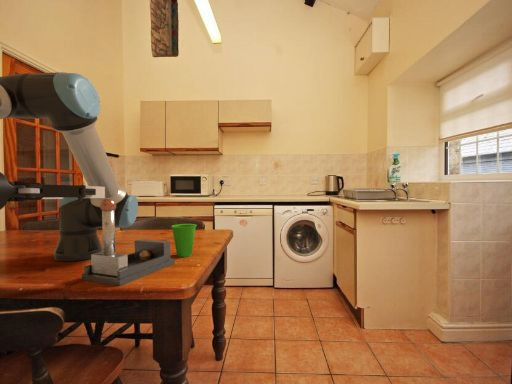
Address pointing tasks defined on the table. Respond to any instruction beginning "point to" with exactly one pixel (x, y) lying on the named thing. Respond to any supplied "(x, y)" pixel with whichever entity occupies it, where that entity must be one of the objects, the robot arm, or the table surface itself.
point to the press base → (136, 263)
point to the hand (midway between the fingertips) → (82, 193)
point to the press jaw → (108, 244)
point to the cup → (184, 238)
